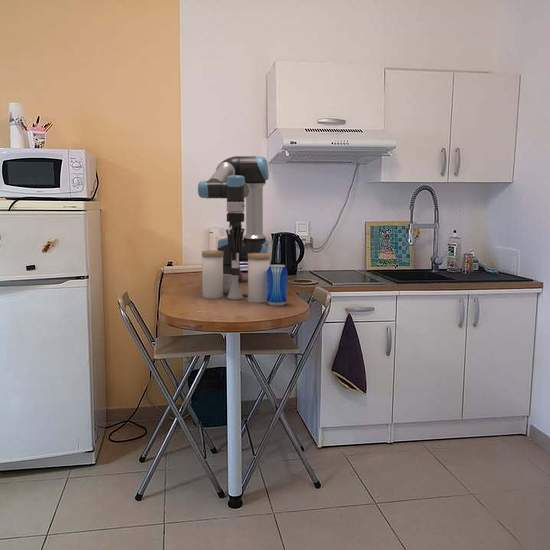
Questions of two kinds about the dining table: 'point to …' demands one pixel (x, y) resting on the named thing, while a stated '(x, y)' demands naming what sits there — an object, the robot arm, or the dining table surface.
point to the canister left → (212, 274)
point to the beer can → (276, 285)
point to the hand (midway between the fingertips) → (235, 267)
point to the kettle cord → (242, 294)
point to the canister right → (257, 276)
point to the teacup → (227, 282)
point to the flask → (235, 289)
